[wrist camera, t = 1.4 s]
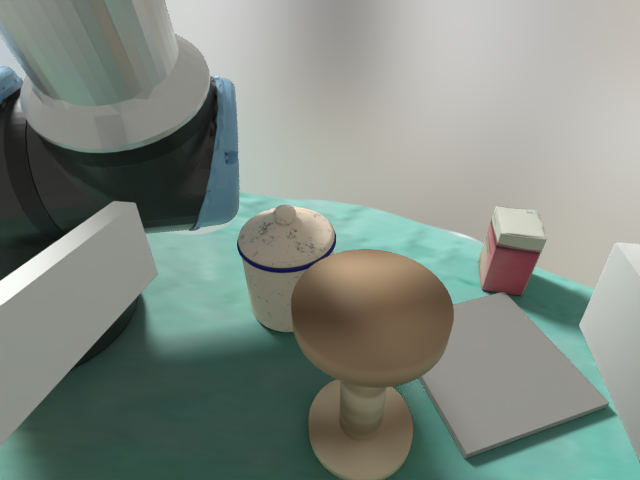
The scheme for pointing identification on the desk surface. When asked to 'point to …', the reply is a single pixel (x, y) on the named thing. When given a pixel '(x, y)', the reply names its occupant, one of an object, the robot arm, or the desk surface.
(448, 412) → the mat
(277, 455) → the desk surface
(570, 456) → the desk surface
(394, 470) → the stool
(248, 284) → the teacup with lid
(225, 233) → the desk surface
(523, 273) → the small box
